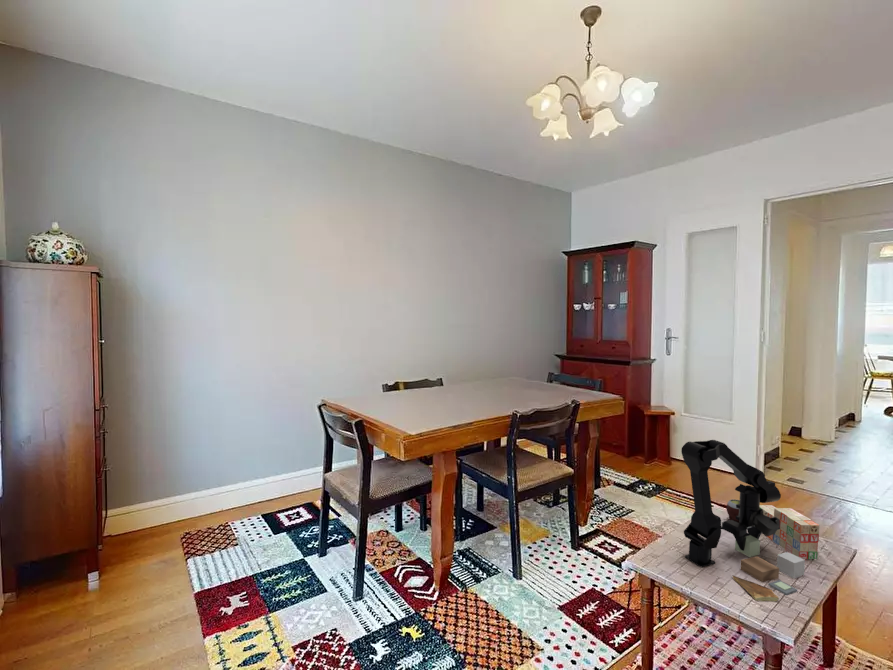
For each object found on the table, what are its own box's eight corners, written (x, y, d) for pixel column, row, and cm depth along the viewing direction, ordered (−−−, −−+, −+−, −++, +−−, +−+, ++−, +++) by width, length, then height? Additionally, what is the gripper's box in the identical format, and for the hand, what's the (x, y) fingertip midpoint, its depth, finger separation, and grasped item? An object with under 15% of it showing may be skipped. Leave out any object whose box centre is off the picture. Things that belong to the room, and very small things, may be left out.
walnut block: (762, 583, 135) (762, 572, 135) (740, 570, 142) (740, 559, 141) (778, 579, 137) (779, 568, 137) (756, 566, 144) (756, 556, 144)
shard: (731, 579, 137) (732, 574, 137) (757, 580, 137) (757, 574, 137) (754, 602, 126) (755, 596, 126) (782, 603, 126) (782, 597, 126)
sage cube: (749, 557, 149) (750, 542, 148) (735, 549, 153) (735, 535, 153) (759, 554, 150) (760, 540, 150) (745, 547, 155) (745, 533, 155)
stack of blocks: (754, 528, 169) (756, 497, 168) (771, 528, 168) (772, 497, 168) (799, 560, 147) (800, 524, 146) (818, 560, 147) (820, 524, 146)
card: (786, 595, 129) (786, 592, 129) (768, 585, 133) (768, 582, 133) (797, 591, 131) (797, 588, 130) (779, 581, 135) (779, 578, 135)
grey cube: (793, 578, 137) (794, 563, 137) (776, 570, 142) (777, 554, 141) (804, 575, 139) (804, 559, 138) (786, 566, 143) (787, 551, 143)
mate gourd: (721, 518, 177) (723, 481, 176) (740, 517, 177) (741, 480, 177) (735, 527, 169) (737, 488, 168) (754, 526, 170) (756, 488, 169)
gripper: (754, 518, 140) (752, 566, 141) (792, 509, 147) (790, 555, 148) (721, 504, 150) (719, 549, 151) (758, 496, 157) (756, 539, 158)
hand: (747, 548), depth 152 cm, fingers closed on sage cube, 5 cm apart
